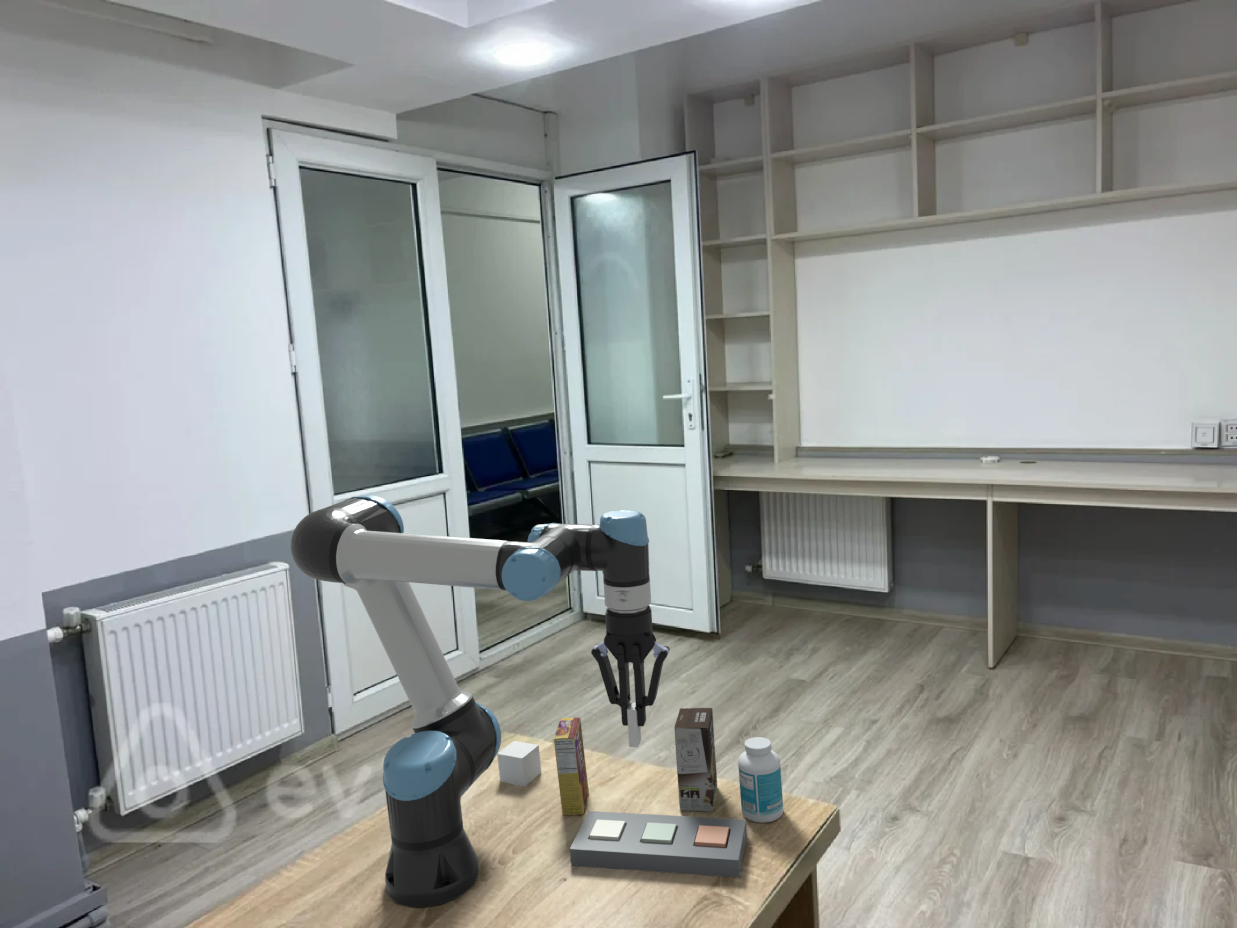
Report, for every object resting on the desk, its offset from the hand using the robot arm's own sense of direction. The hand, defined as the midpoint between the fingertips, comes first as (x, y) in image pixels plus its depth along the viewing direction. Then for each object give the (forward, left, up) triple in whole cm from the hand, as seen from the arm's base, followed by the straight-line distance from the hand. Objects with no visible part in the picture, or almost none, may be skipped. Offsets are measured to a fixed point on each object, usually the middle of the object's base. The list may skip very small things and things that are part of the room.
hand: (635, 743), depth 152 cm
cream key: (-6, +1, -19) cm, 20 cm away
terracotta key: (+12, +1, -19) cm, 23 cm away
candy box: (-16, +14, -20) cm, 29 cm away
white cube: (-30, +23, -20) cm, 43 cm away
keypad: (+3, +1, -20) cm, 20 cm away
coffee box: (+7, +18, -20) cm, 28 cm away
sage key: (+3, +1, -19) cm, 20 cm away
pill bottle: (+19, +14, -20) cm, 31 cm away
